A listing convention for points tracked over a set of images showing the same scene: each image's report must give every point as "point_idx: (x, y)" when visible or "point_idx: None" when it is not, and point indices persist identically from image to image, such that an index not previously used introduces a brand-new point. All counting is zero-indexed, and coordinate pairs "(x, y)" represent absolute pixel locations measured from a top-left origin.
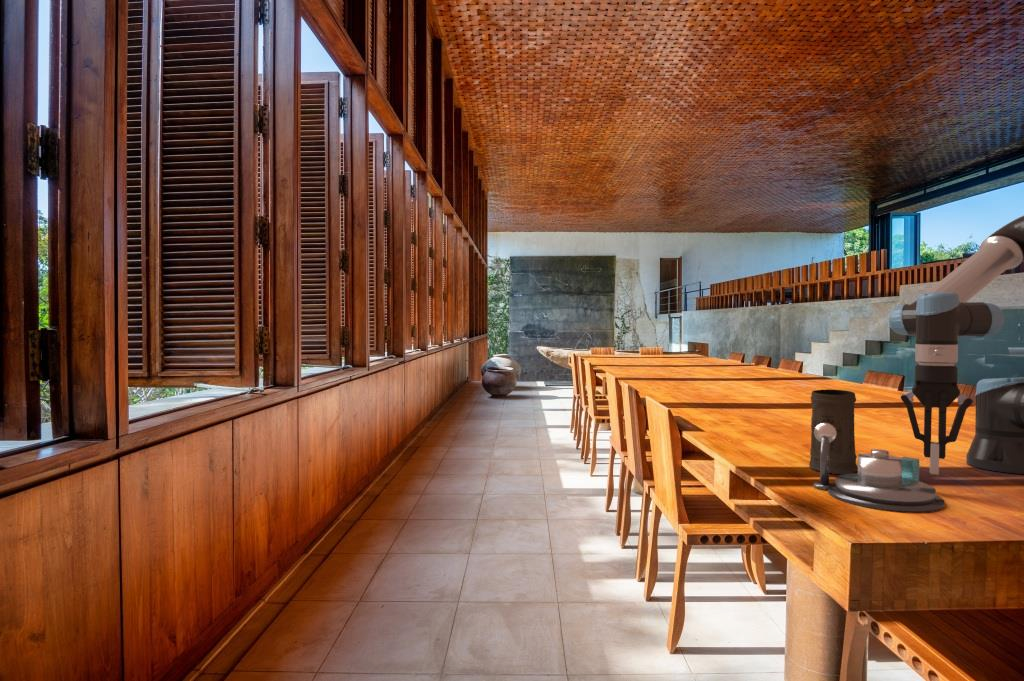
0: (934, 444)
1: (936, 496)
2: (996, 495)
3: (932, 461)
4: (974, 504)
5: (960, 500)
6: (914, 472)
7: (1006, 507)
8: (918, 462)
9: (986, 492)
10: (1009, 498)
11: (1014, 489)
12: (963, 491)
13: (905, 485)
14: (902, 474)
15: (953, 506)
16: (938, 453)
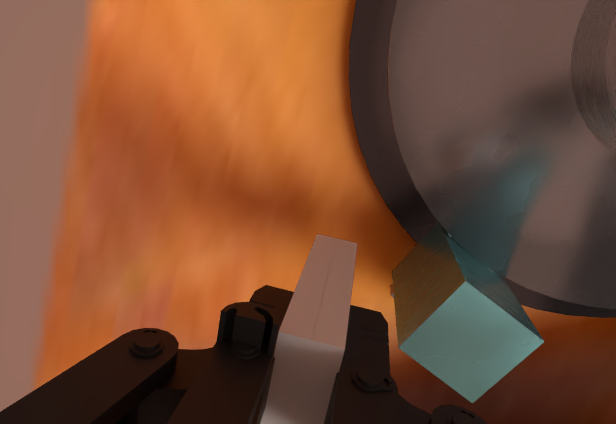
0: (315, 340)
1: (365, 100)
2: (108, 275)
3: (342, 271)
4: (219, 87)
5: (259, 140)
6: (434, 264)
7: (109, 83)
8: (405, 326)
9: (132, 311)
10: (73, 242)
11: (37, 381)
12: (210, 303)
13: (544, 58)
14: (489, 273)
15: (319, 6)
16: (298, 291)
